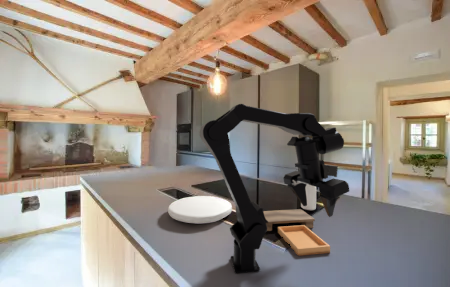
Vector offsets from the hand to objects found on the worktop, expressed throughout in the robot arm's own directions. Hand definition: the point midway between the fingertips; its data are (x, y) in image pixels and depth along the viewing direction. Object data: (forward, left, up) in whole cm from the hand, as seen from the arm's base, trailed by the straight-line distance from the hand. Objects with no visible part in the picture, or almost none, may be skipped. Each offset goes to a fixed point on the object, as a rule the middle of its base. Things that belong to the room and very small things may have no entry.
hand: (317, 210), depth 59 cm
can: (+34, -18, -13) cm, 40 cm away
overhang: (+20, +1, -12) cm, 24 cm away
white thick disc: (+34, +32, -13) cm, 48 cm away
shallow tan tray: (+6, +1, -12) cm, 14 cm away
